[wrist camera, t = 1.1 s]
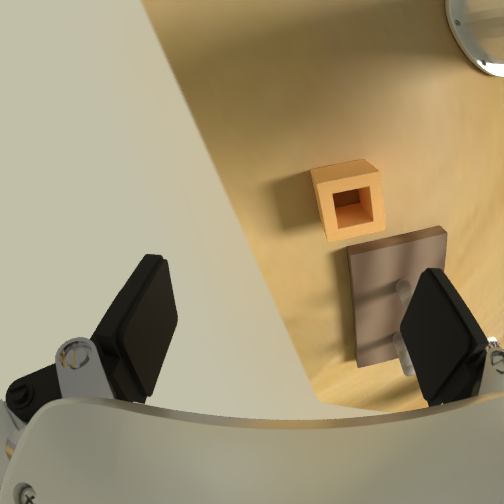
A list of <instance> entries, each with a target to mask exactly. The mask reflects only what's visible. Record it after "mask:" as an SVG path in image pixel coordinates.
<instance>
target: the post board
mask: <svg viewBox="0 0 504 504" xmlns="http://www.w3.org/2000/svg"><path fill="white" fill-rule="evenodd" d="M446 246H447V232H446V231H445V230H444V229H443V228H442V227H441V226H437V227H432V228H428V229H424V230H419V231H415V232H411V233H406V234H402V235H397V236H393V237H388V238H384V239H379V240H375V241H370V242H366V243H361V244H357V245H352V246H348V247H347V254H348V262H349V271H350V281H351V291H352V302H353V315H354V330H355V349H356V362H357V366H358V368H360V367H365V366H369V365H373V364H377V363H381V362H385V361H389V360H393V359H396V358H399V360H400V363H401V366H402V369H403V372H404V374H405V375H406V376H413V375H414V374H415V370H414V367H413V365H412V362H411V359H410V356H409V354H408V351H407V348H406V346H405V343H404V340H403V338H402V335H401V333H400V324H401V321H402V319H403V317H404V315H405V312H406V310H407V308H408V305H409V303H410V300H411V298H412V296H413V293H414V291H415V288H416V285H417V283H418V280H419V278H420V275H421V273H422V272H424V271H425V269H426V268H440V269H441V270H442V271H443V272H444V267H445V257H446Z"/></svg>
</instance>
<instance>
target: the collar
mask: <svg viewBox="0 0 504 504" xmlns="http://www.w3.org/2000/svg"><path fill="white" fill-rule="evenodd" d="M310 173H311V177H312V182H313V186H314V191H315V195H316V200H317V205H318V210H319V215H320V220H321V223H322V226H323V229H324V232H325V235H326V238H327V241H328V242H333V241H338V240H342V239H347V238H351V237H356V236H361V235H365V234H370V233H374V232H379V231H384V230H386V226H385V213H384V202H383V192H382V183H381V175H380V171H379V170H378V169H376V168H375V167H374V166H372V165H371V164H370V163H369V162H367V161H366V160H365V159H362V160H357V161H351V162H346V163H341V164H336V165H331V166H326V167H321V168H316V169H312V170H310ZM353 189H358V191H359V198H360V203H355V204H351V205H346V206H341V207H336V208H335V207H334V201H333V196H332V194H333V193H338V192H343V191H348V190H353Z"/></svg>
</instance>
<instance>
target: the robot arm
mask: <svg viewBox="0 0 504 504" xmlns="http://www.w3.org/2000/svg"><path fill="white" fill-rule="evenodd" d="M445 9H446V16H447V19H448V23H449V26H450V28H451V31H452V33H453V35H454V37H455V39H456V41H457V43H458V45H459V46H460V47H461V49H462V50H463V52H464V53H465V55H466V56H467V57H468V58H469V59H470V61H472V62H473V63H474V64H475V65H476V66H477V67H478V68H479V69H481V70H482V71H483V72H485V73H487V74H489V75H492V76H498V77H504V0H446V4H445ZM177 321H178V315H177V310H176V305H175V300H174V295H173V289H172V284H171V278H170V273H169V266H168V262H167V260H166V259H163V257H162V256H161V255H154V254H153V255H152V254H146V255H145V256H144V257H143V259H142V260H141V261H140V263H139V264H138V266H137V268H136V269H135V270H134V272H133V273H132V275H131V276H130V278H129V279H128V281H127V282H126V284H125V285H124V287H123V288H122V289H121V291H120V292H119V293H118V295H117V296H116V298H115V299H114V301H113V302H112V304H111V306H110V307H109V309H108V310H107V312H106V313H105V315H104V317H103V318H102V320H101V322H100V324H99V325H98V326H97V328H96V330H95V332H94V333H93V335H92V337H91V338H90V339H87V338H83V337H77V338H73V339H70V340H68V341H66V342H65V343H64V344H62V345H61V347H60V348H59V349H58V351H57V354H56V356H55V363H54V364H52V365H50V366H47V367H45V368H43V369H40V370H38V371H36V372H33V373H31V374H29V375H26V376H24V377H22V378H19V379H17V380H16V381H14V382H13V383H12V384H11V385H10V386H9V388H8V390H7V393H6V401H3V400H2V399H1V400H0V504H504V349H502V348H499V347H493V348H490V349H489V350H488V351H486V349H485V348H486V347H487V345H488V344H489V341H488V340H487V338H486V336H485V334H484V333H483V331H482V329H481V328H480V326H479V324H478V323H477V321H476V319H475V318H474V316H473V315H472V313H471V311H470V310H469V308H468V307H467V305H466V304H465V302H464V301H463V299H462V298H461V296H460V295H459V293H458V292H457V290H456V289H455V287H454V286H453V285H452V283H451V282H450V280H449V279H448V278H447V276H446V275H445V273H444V272H443V271H442V270H441V269H440V268H426V269H425V271H424V272H422V273H421V275H420V278H419V280H418V283H417V285H416V288H415V291H414V293H413V296H412V298H411V300H410V303H409V305H408V308H407V310H406V312H405V315H404V317H403V319H402V321H401V324H400V333H401V335H402V338H403V340H404V343H405V346H406V348H407V351H408V354H409V356H410V359H411V362H412V365H413V367H414V370H415V373H416V376H417V379H418V382H419V385H420V388H421V391H422V394H423V397H424V399H425V400H427V402H428V405H429V407H427V408H422V409H417V410H411V411H405V412H399V413H392V414H386V415H385V414H384V415H377V416H367V417H358V418H345V419H327V420H266V419H247V418H234V417H223V416H214V415H205V414H198V413H191V412H184V411H177V410H171V409H165V408H159V407H154V406H148V405H144V404H145V401H146V398H147V396H149V397H150V396H151V395H152V394H153V391H154V388H155V385H156V382H157V379H158V376H159V373H160V370H161V367H162V364H163V361H164V359H165V356H166V353H167V350H168V348H169V345H170V342H171V339H172V336H173V334H174V331H175V328H176V326H177ZM133 402H138V403H133ZM139 403H143V404H139ZM442 403H443V404H442ZM441 404H442V405H441Z"/></svg>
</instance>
